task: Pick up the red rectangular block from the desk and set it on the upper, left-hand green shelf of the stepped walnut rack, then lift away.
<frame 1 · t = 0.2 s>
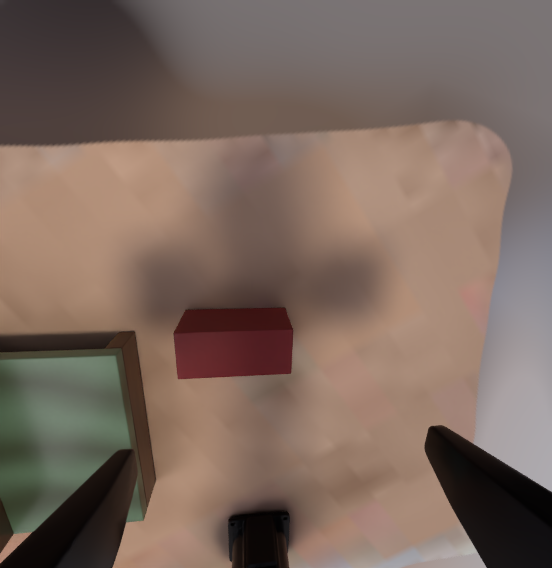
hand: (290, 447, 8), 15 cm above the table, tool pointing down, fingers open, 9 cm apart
rack: (21, 421, 23), on the table
red rectangular block: (236, 328, 23), on the table
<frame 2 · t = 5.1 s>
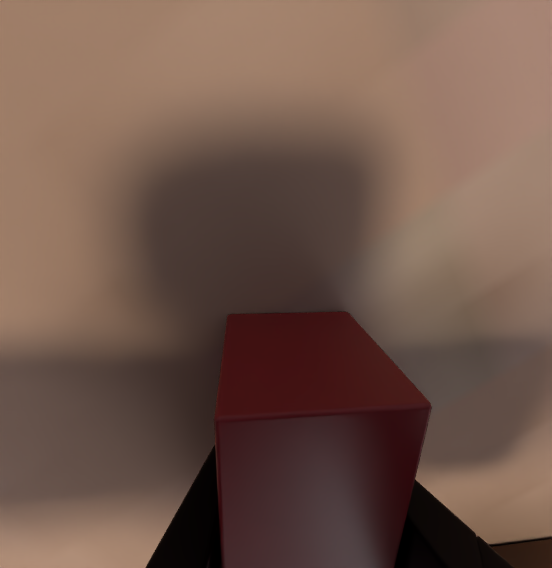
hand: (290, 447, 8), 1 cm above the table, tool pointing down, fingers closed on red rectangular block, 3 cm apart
red rectangular block: (284, 421, 9), on the table, touching gripper
when the fingers open (9 cm above the table, at t = 11.7 s): red rectangular block stays where it is, resting on rack.
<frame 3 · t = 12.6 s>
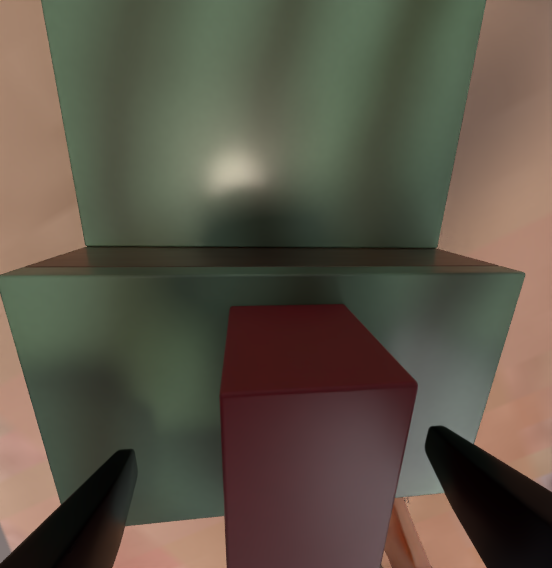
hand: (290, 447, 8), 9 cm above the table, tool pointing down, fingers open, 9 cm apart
grandmother figurine: (371, 479, 23), on the table
rack: (267, 237, 16), on the table
red rectangular block: (284, 409, 10), point 8 cm above the table, touching rack
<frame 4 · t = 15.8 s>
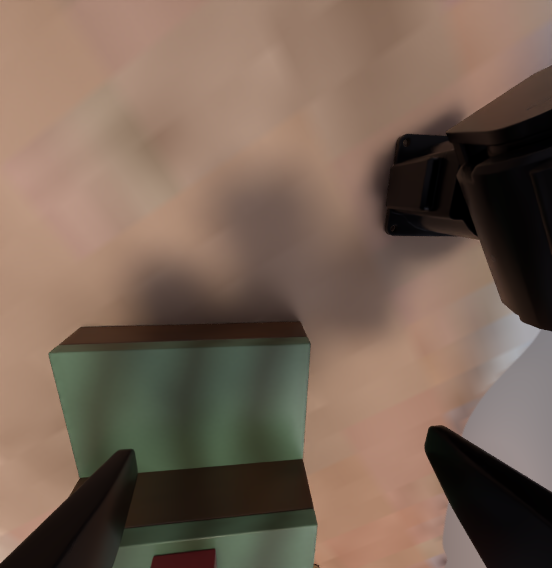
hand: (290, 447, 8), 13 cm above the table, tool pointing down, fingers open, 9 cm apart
rack: (202, 430, 24), on the table
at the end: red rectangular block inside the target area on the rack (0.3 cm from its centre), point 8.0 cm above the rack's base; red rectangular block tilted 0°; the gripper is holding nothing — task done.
